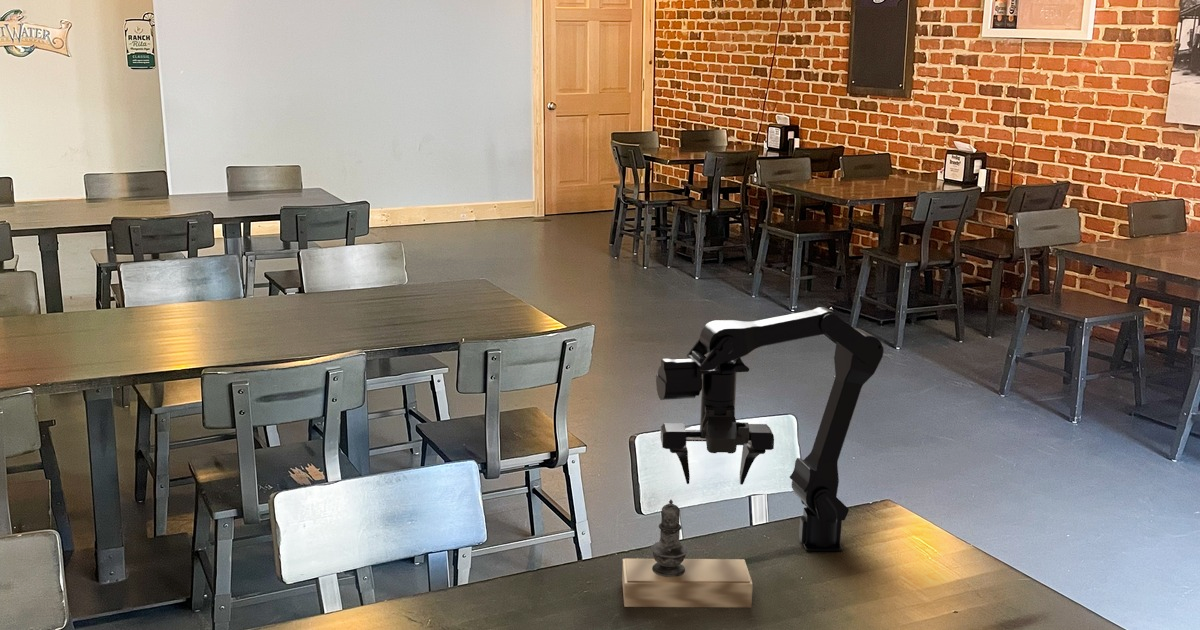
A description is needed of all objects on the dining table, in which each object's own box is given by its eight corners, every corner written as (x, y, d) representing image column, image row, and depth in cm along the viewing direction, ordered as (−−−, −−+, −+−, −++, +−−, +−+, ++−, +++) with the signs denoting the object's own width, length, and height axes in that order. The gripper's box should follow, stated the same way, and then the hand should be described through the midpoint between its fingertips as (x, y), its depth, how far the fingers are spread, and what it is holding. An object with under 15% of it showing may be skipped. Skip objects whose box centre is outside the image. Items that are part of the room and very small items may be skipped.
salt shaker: (660, 557, 176) (662, 489, 173) (693, 566, 173) (696, 497, 170) (643, 572, 171) (645, 501, 168) (676, 581, 168) (679, 510, 165)
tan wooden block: (743, 581, 177) (744, 558, 176) (751, 607, 169) (752, 582, 168) (622, 581, 177) (622, 557, 176) (624, 606, 168) (624, 581, 167)
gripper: (666, 411, 172) (663, 501, 176) (782, 412, 173) (777, 502, 176) (661, 390, 183) (658, 476, 187) (770, 391, 184) (765, 477, 187)
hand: (714, 483), depth 184 cm, fingers open, 9 cm apart
